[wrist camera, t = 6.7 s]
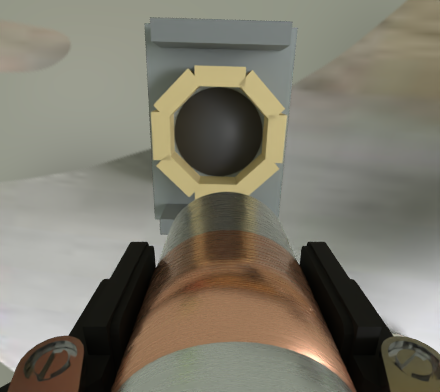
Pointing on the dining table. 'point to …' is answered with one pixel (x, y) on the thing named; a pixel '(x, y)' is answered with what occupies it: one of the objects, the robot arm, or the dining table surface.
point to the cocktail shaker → (230, 310)
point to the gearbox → (217, 109)
